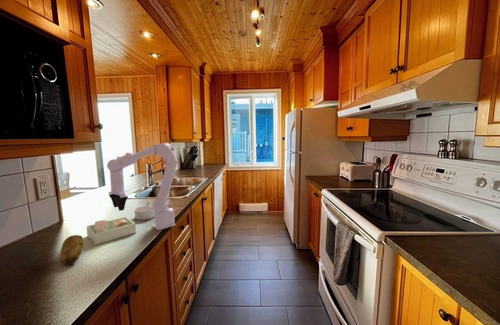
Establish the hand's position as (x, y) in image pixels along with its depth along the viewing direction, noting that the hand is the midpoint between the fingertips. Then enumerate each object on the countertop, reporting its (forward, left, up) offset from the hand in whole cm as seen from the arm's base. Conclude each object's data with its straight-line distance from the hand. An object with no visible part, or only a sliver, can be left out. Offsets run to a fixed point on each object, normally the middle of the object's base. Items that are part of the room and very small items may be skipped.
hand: (119, 208), depth 116 cm
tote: (+6, +6, -10) cm, 13 cm away
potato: (+23, +19, -11) cm, 32 cm away
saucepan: (-18, -10, -11) cm, 23 cm away
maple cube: (+2, +6, -10) cm, 12 cm away
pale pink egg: (+10, +6, -10) cm, 15 cm away
